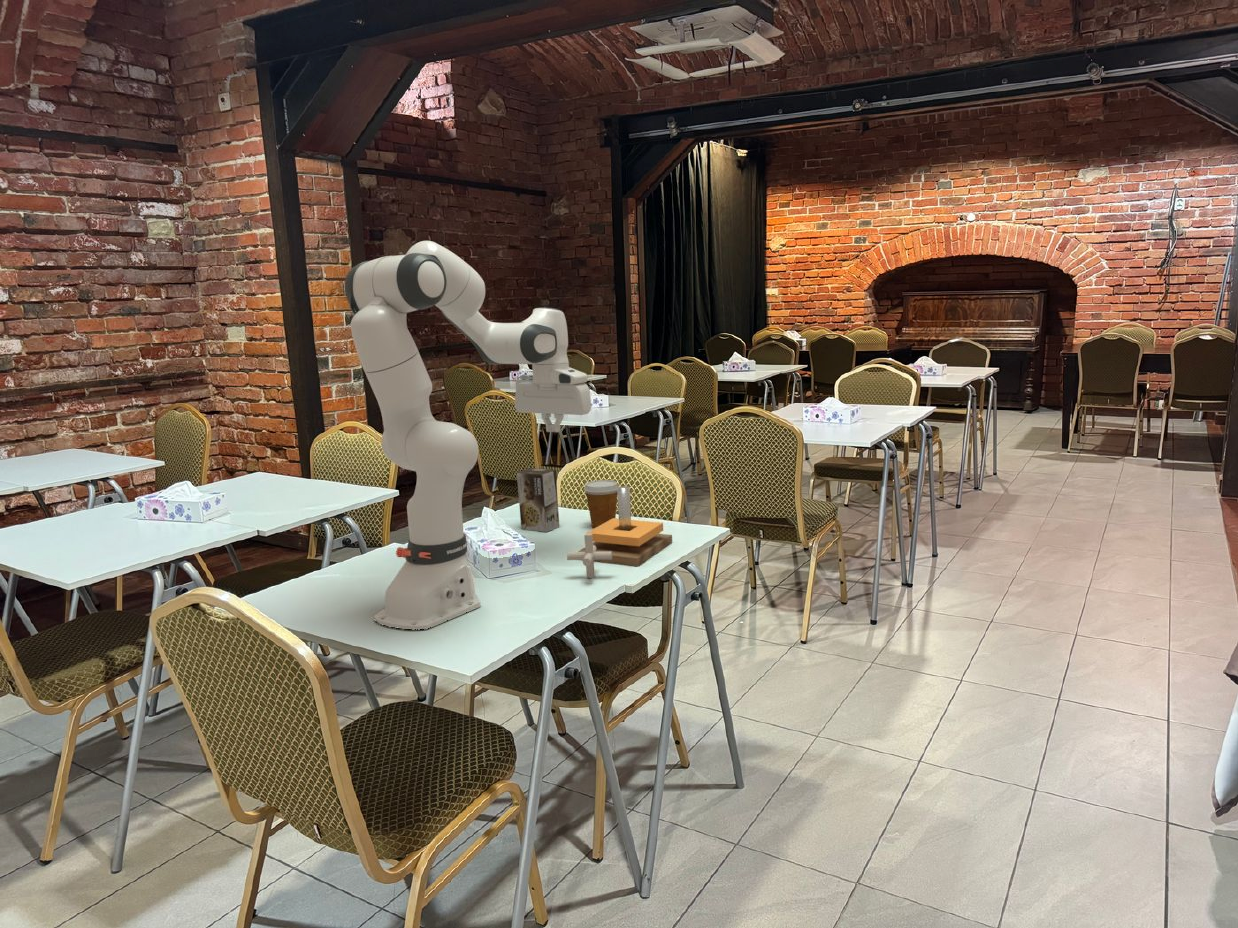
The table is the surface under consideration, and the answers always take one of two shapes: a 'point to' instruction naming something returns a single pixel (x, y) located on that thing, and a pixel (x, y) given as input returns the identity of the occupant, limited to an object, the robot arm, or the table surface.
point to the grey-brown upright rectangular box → (538, 499)
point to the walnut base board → (633, 550)
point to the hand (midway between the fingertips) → (553, 431)
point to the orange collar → (626, 532)
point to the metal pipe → (624, 509)
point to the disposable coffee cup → (601, 500)
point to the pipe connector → (589, 555)
